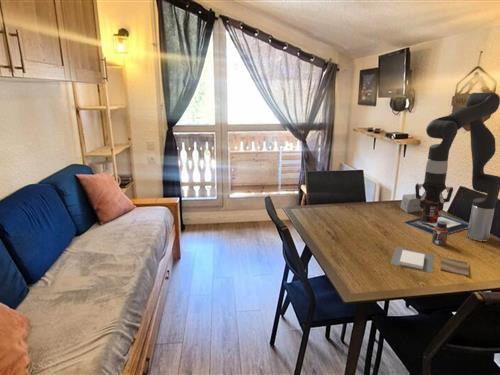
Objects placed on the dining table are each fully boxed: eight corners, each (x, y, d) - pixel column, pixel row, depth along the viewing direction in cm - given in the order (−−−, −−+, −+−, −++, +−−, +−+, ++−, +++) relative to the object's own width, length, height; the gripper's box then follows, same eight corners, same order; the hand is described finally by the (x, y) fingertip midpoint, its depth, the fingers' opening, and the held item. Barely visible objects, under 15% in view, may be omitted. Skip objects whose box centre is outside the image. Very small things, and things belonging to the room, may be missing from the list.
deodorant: (432, 217, 142) (437, 184, 138) (440, 223, 137) (445, 188, 132) (418, 218, 142) (422, 185, 138) (426, 223, 137) (430, 189, 132)
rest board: (440, 259, 147) (440, 257, 147) (467, 264, 143) (467, 262, 142) (440, 271, 137) (440, 269, 137) (468, 277, 133) (469, 275, 132)
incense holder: (407, 214, 203) (410, 197, 200) (399, 209, 210) (401, 193, 208) (422, 212, 204) (424, 196, 201) (413, 208, 212) (415, 192, 209)
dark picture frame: (402, 224, 189) (403, 220, 188) (437, 215, 201) (438, 212, 200) (437, 238, 170) (437, 234, 169) (473, 227, 182) (474, 224, 182)
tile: (402, 249, 152) (399, 261, 142) (424, 254, 147) (423, 266, 137) (402, 253, 152) (399, 264, 142) (424, 257, 148) (422, 269, 138)
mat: (395, 248, 158) (395, 247, 158) (433, 255, 151) (433, 254, 150) (390, 264, 143) (390, 263, 143) (431, 273, 136) (432, 272, 135)
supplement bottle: (438, 247, 159) (442, 225, 156) (429, 242, 164) (432, 221, 161) (448, 245, 160) (452, 224, 157) (438, 240, 166) (442, 219, 163)
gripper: (456, 170, 133) (450, 209, 138) (417, 167, 140) (412, 204, 145) (457, 174, 127) (450, 215, 132) (415, 170, 134) (411, 209, 139)
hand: (430, 209), depth 138 cm, fingers closed on deodorant, 6 cm apart
